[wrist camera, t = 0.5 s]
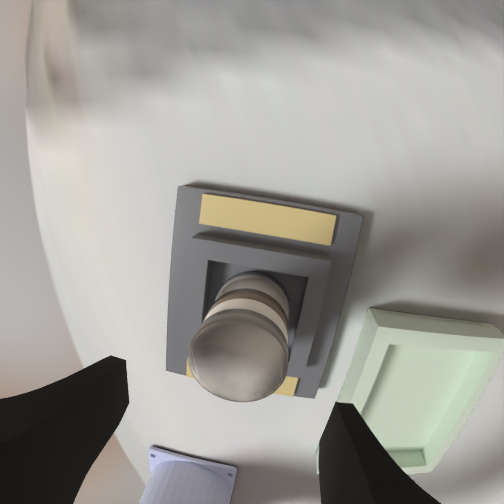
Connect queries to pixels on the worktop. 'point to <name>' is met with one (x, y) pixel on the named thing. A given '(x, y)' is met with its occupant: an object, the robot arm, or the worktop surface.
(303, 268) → the fuse holder
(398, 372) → the parts tray
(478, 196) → the worktop surface
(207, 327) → the cylinder
